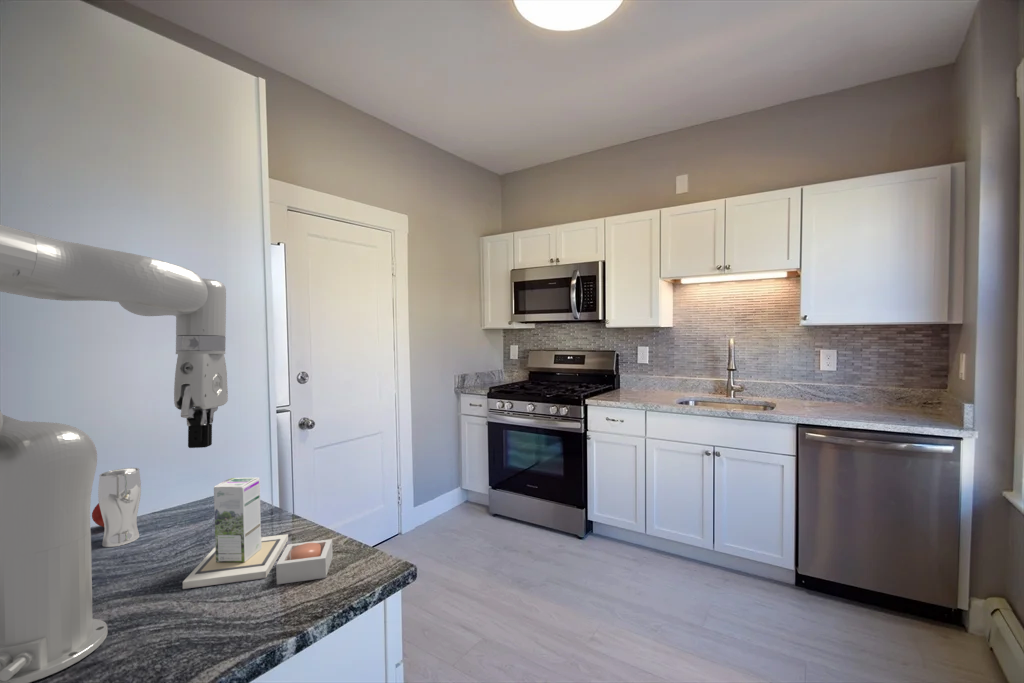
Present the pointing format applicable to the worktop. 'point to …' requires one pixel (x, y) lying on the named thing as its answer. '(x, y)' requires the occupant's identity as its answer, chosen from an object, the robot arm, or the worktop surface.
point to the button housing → (304, 564)
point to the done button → (306, 551)
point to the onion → (97, 516)
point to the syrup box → (237, 519)
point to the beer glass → (119, 505)
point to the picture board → (237, 565)
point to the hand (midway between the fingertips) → (200, 446)
